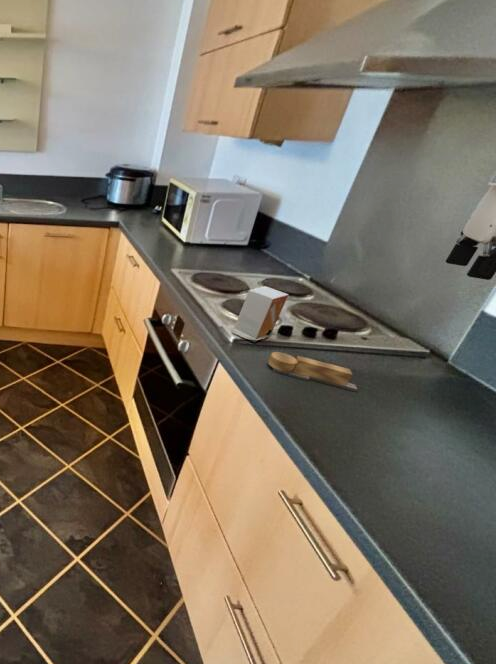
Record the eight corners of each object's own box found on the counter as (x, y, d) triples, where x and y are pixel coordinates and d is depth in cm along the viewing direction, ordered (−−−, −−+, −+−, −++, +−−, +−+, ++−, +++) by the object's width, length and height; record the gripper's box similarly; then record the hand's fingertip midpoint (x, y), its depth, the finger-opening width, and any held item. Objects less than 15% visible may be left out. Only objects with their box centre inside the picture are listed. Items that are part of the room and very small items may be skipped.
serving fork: (352, 384, 94) (354, 381, 94) (357, 395, 90) (359, 392, 90) (271, 362, 100) (272, 359, 100) (272, 371, 97) (274, 368, 96)
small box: (254, 344, 109) (273, 298, 103) (231, 333, 113) (248, 289, 107) (270, 338, 113) (289, 294, 107) (247, 327, 117) (264, 285, 111)
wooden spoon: (342, 378, 95) (348, 366, 93) (347, 389, 91) (354, 377, 89) (267, 358, 101) (272, 346, 99) (268, 367, 97) (273, 356, 95)
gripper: (587, 188, 65) (517, 288, 73) (525, 178, 79) (471, 263, 86) (520, 181, 68) (459, 279, 76) (472, 173, 82) (424, 256, 89)
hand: (466, 270), depth 81 cm, fingers open, 9 cm apart
